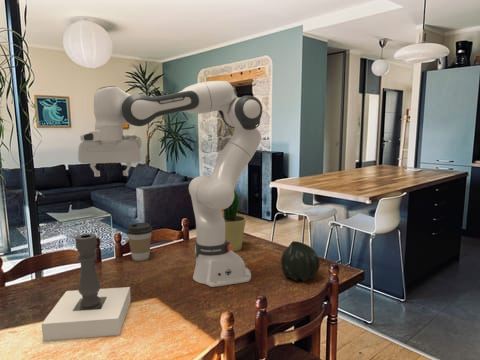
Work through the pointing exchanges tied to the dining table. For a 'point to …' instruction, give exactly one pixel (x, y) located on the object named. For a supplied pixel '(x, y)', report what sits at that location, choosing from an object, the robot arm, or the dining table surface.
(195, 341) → the dining table surface
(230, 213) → the potted cactus
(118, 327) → the socket block
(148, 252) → the coffee cup
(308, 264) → the squash
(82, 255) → the candle holder
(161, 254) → the dining table surface
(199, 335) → the dining table surface
